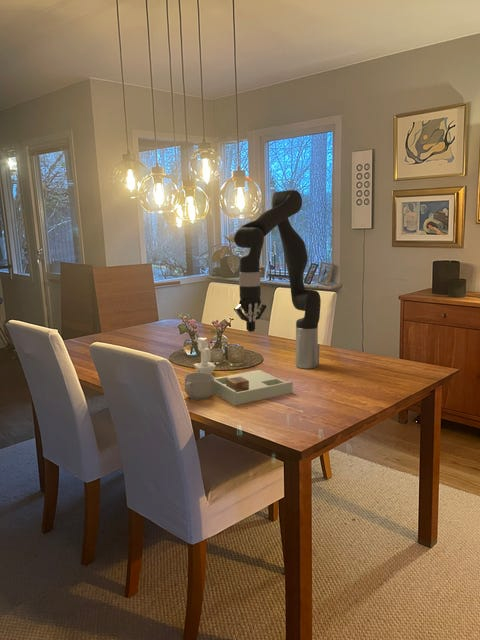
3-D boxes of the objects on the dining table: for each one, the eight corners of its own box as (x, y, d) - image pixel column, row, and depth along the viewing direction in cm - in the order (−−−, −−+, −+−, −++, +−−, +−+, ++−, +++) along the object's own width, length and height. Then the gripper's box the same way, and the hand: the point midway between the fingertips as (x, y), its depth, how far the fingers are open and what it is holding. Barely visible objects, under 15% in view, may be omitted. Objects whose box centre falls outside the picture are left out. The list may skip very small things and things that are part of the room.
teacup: (199, 390, 201) (198, 369, 200) (221, 396, 194) (220, 375, 193) (172, 400, 191) (171, 379, 189) (194, 407, 184) (193, 384, 182)
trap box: (259, 376, 217) (258, 364, 216) (293, 393, 197) (293, 379, 196) (204, 387, 205) (203, 374, 204) (234, 405, 185) (234, 391, 184)
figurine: (200, 377, 217) (199, 341, 214) (192, 371, 225) (191, 336, 222) (217, 375, 220) (216, 339, 217) (208, 369, 228) (207, 335, 225)
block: (240, 385, 197) (240, 376, 196) (248, 390, 192) (248, 380, 191) (226, 388, 194) (226, 379, 193) (234, 392, 189) (234, 383, 188)
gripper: (259, 281, 198) (260, 327, 201) (228, 284, 191) (229, 332, 195) (271, 283, 191) (271, 330, 195) (239, 287, 185) (240, 335, 188)
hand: (250, 331), depth 195 cm, fingers closed
